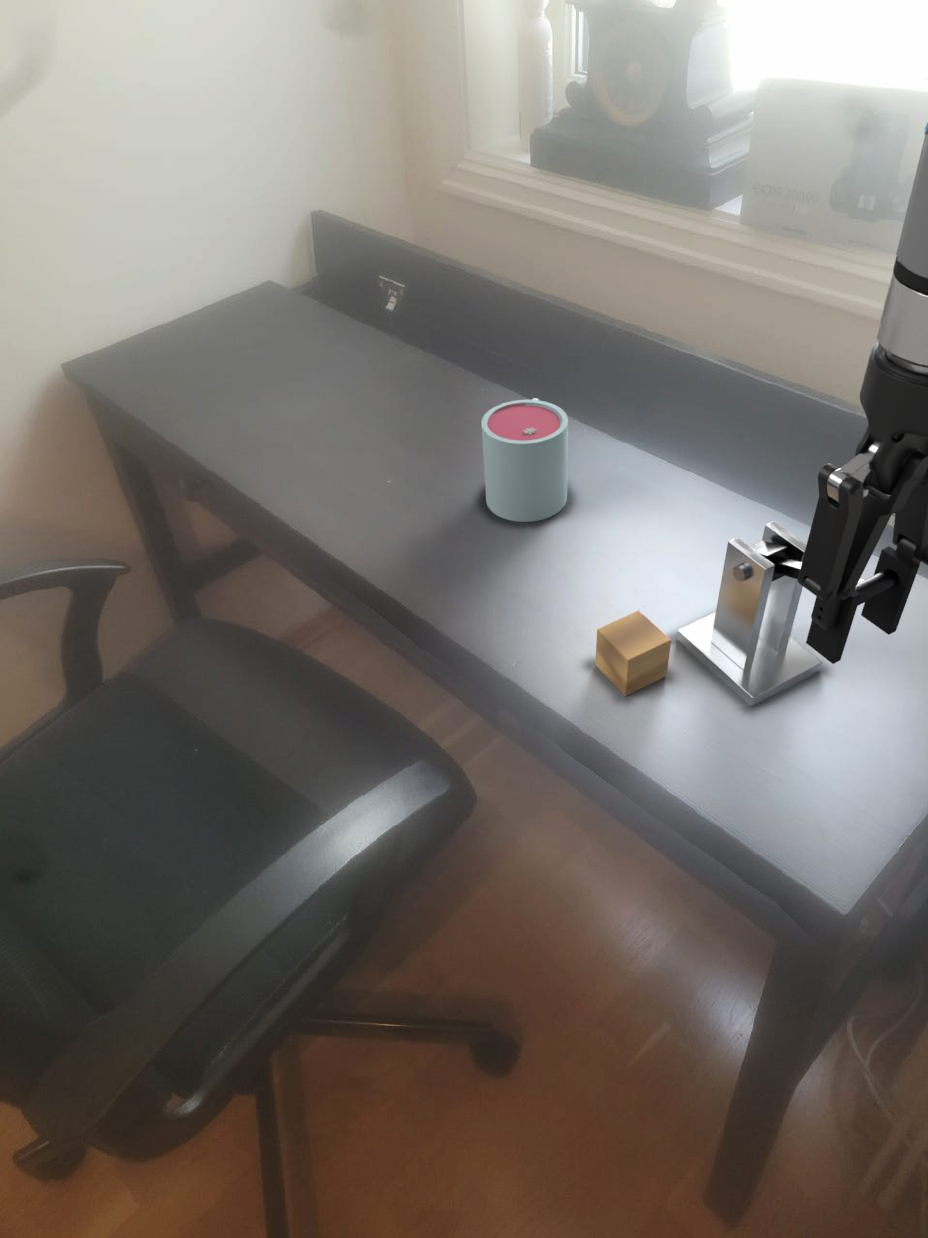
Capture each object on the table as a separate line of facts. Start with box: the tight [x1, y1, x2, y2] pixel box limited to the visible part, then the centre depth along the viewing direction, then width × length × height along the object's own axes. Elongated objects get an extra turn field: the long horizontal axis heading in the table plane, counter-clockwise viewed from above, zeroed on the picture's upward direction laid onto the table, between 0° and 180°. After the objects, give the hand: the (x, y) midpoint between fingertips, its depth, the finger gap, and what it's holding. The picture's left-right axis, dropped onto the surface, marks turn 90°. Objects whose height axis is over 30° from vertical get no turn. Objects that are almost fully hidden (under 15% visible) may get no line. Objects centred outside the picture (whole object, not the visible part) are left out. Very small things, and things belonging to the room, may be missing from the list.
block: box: [594, 610, 672, 697], centre depth 77 cm, size 5×5×5 cm
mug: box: [480, 397, 569, 523], centre depth 97 cm, size 14×9×10 cm
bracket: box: [675, 520, 823, 708], centre depth 75 cm, size 10×8×13 cm
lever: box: [749, 540, 899, 606], centre depth 67 cm, size 12×5×2 cm, turn 29°
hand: (851, 636), depth 66 cm, fingers closed on lever, 5 cm apart
